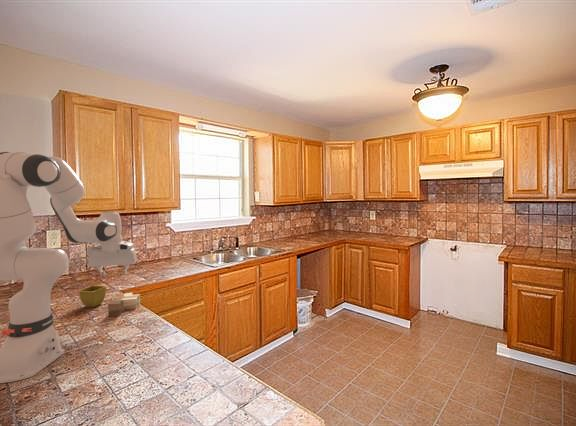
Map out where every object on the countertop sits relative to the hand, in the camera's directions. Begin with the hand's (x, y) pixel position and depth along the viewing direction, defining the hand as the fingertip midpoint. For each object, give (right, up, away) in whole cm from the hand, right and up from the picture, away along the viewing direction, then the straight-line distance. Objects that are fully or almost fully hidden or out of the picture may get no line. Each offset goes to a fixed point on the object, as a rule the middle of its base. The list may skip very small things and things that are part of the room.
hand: (113, 274), depth 144 cm
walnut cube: (0, -19, +1) cm, 19 cm away
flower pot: (-18, -19, +13) cm, 29 cm away
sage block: (-3, -18, +18) cm, 26 cm away
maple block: (+2, -19, +11) cm, 22 cm away
